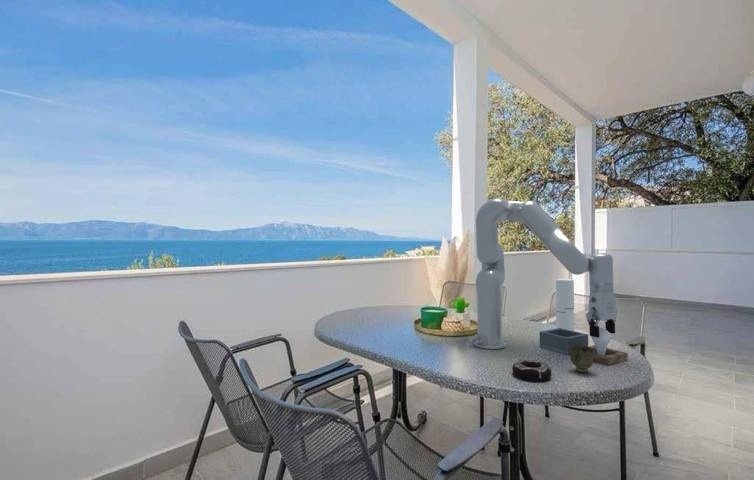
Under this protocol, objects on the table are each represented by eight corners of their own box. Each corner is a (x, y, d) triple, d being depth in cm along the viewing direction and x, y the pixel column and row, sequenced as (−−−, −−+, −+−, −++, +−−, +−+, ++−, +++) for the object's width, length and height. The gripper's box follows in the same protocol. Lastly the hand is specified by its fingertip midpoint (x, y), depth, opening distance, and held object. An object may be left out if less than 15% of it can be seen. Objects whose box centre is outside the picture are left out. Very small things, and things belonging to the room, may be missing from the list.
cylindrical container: (575, 337, 170) (575, 280, 170) (558, 337, 172) (558, 280, 171) (571, 333, 177) (571, 278, 177) (554, 333, 179) (554, 278, 178)
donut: (510, 380, 122) (510, 367, 122) (513, 368, 133) (513, 356, 133) (551, 385, 118) (551, 372, 117) (551, 372, 128) (551, 360, 128)
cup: (564, 368, 132) (564, 344, 132) (585, 367, 132) (585, 344, 132) (578, 376, 124) (577, 351, 124) (600, 375, 125) (599, 350, 125)
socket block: (608, 365, 134) (608, 358, 134) (575, 356, 144) (575, 349, 144) (627, 360, 140) (627, 353, 140) (594, 351, 150) (594, 345, 150)
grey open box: (568, 354, 147) (568, 338, 147) (539, 346, 157) (539, 331, 157) (588, 349, 153) (588, 334, 153) (559, 342, 164) (559, 327, 164)
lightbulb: (604, 362, 138) (603, 330, 138) (587, 357, 143) (587, 327, 143) (614, 359, 141) (614, 328, 141) (598, 354, 146) (598, 325, 146)
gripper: (597, 290, 134) (598, 340, 134) (625, 286, 143) (626, 333, 143) (576, 288, 141) (578, 336, 141) (604, 284, 149) (606, 329, 149)
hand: (602, 334), depth 142 cm, fingers open, 9 cm apart
